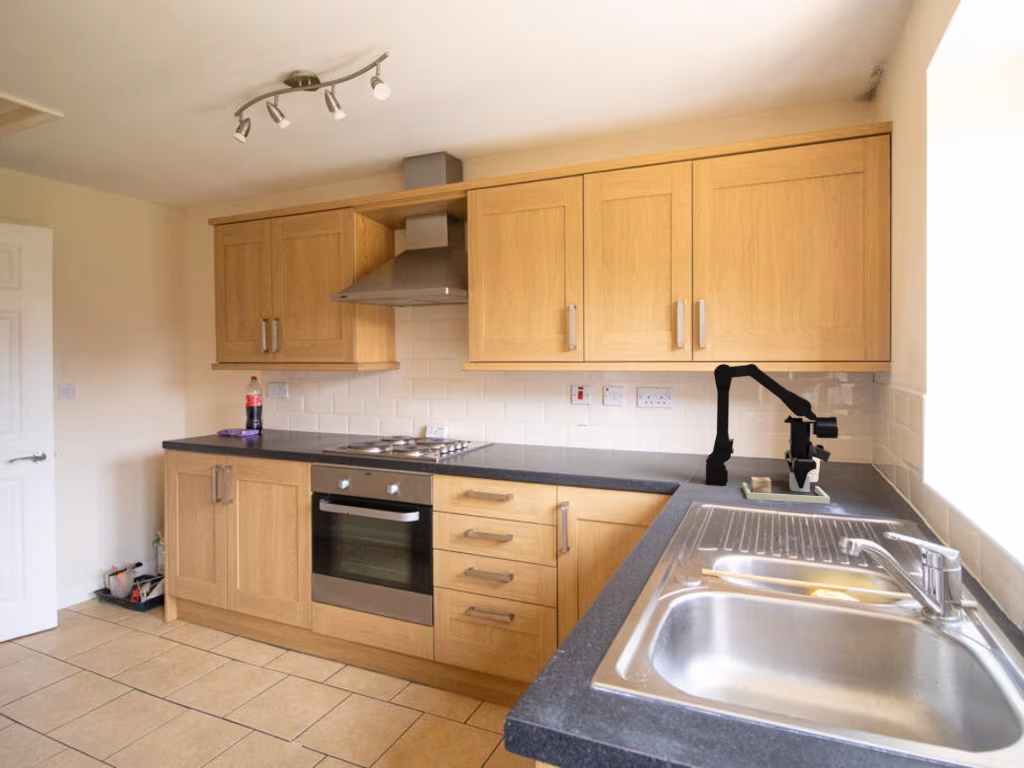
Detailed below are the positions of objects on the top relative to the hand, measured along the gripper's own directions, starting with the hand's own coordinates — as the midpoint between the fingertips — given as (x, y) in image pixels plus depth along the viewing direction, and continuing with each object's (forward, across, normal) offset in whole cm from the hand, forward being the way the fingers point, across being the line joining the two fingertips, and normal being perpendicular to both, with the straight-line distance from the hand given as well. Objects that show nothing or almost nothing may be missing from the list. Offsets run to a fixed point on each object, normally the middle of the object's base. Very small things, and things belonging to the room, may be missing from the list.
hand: (799, 486), depth 184 cm
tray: (+1, -10, +6) cm, 12 cm away
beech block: (+1, -10, +12) cm, 16 cm away
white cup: (+1, +16, -5) cm, 16 cm away
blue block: (+1, 0, 0) cm, 1 cm away
